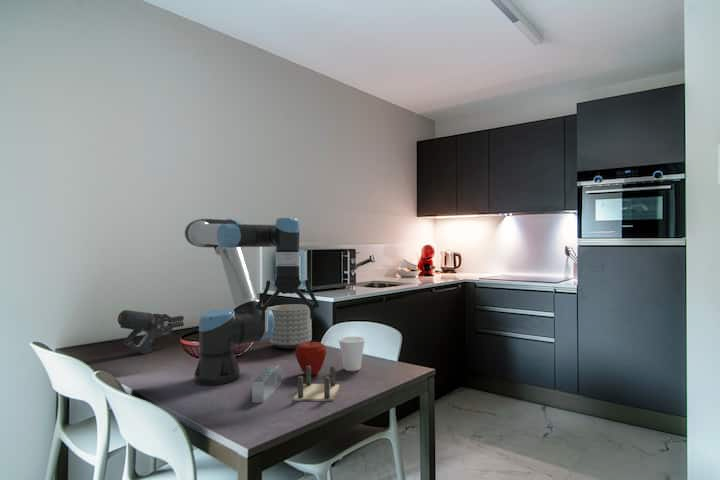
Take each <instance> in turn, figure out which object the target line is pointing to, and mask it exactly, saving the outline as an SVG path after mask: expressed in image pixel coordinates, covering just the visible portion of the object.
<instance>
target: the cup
mask: <svg viewBox="0 0 720 480" xmlns="http://www.w3.org/2000/svg"><path fill="white" fill-rule="evenodd" d="M365 341H366V339H365V338H364V337H362V336H344V337H343V336H342V337H340V338H339V339H338V342H339V347H340V351H341V352H340V353H341V358H342V359H341V360H342V364H343V369H344V370H345V371H347V372H357V371H359V370H360V369H361V367H362V361H363V360H362V359H363V355H364V354H363V353H364V347H365Z"/></svg>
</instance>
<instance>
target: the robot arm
mask: <svg viewBox="0 0 720 480" xmlns="http://www.w3.org/2000/svg"><path fill="white" fill-rule="evenodd" d="M184 237H185V240H186V241H187V242H188V243H189V244H190V245H192V246H195V247H197V248H213V249H214V252H215V254H216V255H217V256H219V257H220V259H221V262H222V266H223V269H224V272H225V276H226V281H227V282H228V287H229V290H230V294H231V297H232V301H233V304H234V308H233V309H232V308H223V309H216V310H212V311H208V312H207V313H204V314H202V315H201V316H200V318H199V323H198V336H199V337H198V339H199V344H198V345H199V346H198V349H199V358H198V362H197V365H196V368H195V371H194V374H193V375H194V376H193V378H194V380H193V381H194V383H195V384H198V385H203V386H216V385H223V384H227V383H231V382H234V381H236V380H238V379H239V378H240V377H241V370H240V367H239V363H238V360H237V357H236V355H235V346H238V345H245V344H250V343H256V342H257V343H259V342H261V341H264V340H268V339H270V336H271V334H272V332H273V328H274V315H273V312H272V311H271V310H270V309H269V308H270V307H269V306H270V305H271V304H272V303H273V302H274V300H276V298H277V297H278V295H280V294H283V295H286V294H289V295H291V294H292V295H293V294H296V295H298V296H299V298H300V299H301V300H302V301H303V302H304V303H305V305H307V306H308V307H309V308H310V309H307V324H308V330H310V319H311V320H314V311H315V309H316V308H319V307H320V305H319V302H318V300H317V298H316V297H315V294H314V292H313V290H312V288H311V287H310V280H309V279H308V278H306V279H303V280H302V279H300V265H299V264H300V221H299V219H298V218H296V217H277V219H276V220H275V224H243V223H242V222H241V221H240V220H237V219H231V218H228V219H217V218H215V219H214V218H200V219H199V218H198V219H196V220H193V221H191V222H189V223H188V224H187V225H186V227H185V230H184ZM273 247H274V248H275V264H276V267H275V280H270V279H267V280H266V282H265V287H264V290H263V292H262V293H261V296H260V298H259V299H258V297H257V294H256V290H255V287H254V284H253V281H252V278H251V275H250V272H249V268H248V265H247V262H246V259H245V257H244V253H243V249H244V248H273ZM274 285H275V287H276V288H277V289H276V290H275V291H274V292H273V294H272V295H271V296H270V297H269V299H268V300H267V301H266V302H265V303H264V300H265V298H266V296H267V294H268V292H269V290H270V288H272V287H273V286H274ZM301 285H302V286H303V287H305V288H306V290H307V292H308V294H309V296H310V298H311V300H312V303H313V304H312V303H311V301H310V300H308V298H307V297H306V295H304V294H303V293H302V291H301V290H300V289H299V287H300V286H301Z"/></svg>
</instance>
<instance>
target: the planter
mask: <svg viewBox="0 0 720 480" xmlns="http://www.w3.org/2000/svg"><path fill="white" fill-rule="evenodd" d="M268 308H269V309H270V310H271V311H272V312H273V315H274V328H273V332H272V334H271V336H270V337H269V343H271V344H272V345H276V346H277V347H279V348H281V349H285V350H294V349H295V350H296V348H297V347H298V346H299V345H300V344H301V343H304V342H311V341H312V340H313V339H312V338H313V336H312V335H313V332H312V331H313V327H312V326H313V325H312V320H313V319H310V330H308V324H307V309H310V308H309V307H308V306H307V305H306V304H301V303H299V304H296V303H295V304H293V303H290V304H280V305H273V306H270V307H268Z"/></svg>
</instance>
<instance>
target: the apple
mask: <svg viewBox="0 0 720 480" xmlns="http://www.w3.org/2000/svg"><path fill="white" fill-rule="evenodd" d="M294 353H295V358H296V360H297V362H298V365H299V367H300V369H301V371H302V373H304V374H305V375H306V366H311V376H316V375H317V374H318V373H320V371H321V369H322V367H323V365H324V362H325V358H326V355H327V347H326V346H325V345H324V344H323V343H322V342H320V341H318V342H317V341H312V340H311V341H310V342H304V343H301V344H300V345H299V346H298V347H297V348H295V352H294Z"/></svg>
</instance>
